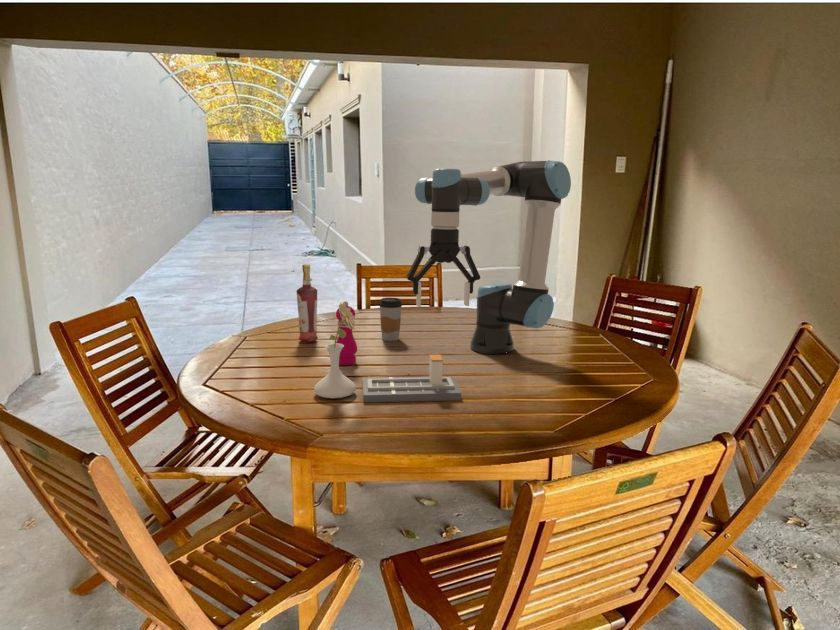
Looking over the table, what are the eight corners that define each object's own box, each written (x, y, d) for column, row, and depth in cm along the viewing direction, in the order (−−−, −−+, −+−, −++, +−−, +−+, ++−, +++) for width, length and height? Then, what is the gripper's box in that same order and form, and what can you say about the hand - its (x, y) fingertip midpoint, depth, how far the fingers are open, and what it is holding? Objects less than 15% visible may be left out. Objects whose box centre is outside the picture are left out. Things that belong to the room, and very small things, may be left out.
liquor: (321, 342, 208) (320, 265, 202) (302, 345, 204) (300, 266, 198) (313, 338, 214) (311, 263, 208) (294, 340, 210) (292, 264, 204)
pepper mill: (353, 366, 181) (352, 304, 177) (331, 364, 182) (330, 302, 178) (360, 359, 188) (359, 299, 183) (339, 358, 189) (338, 298, 185)
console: (452, 382, 167) (452, 373, 167) (461, 399, 154) (461, 390, 153) (362, 384, 164) (362, 375, 164) (363, 402, 151) (363, 392, 150)
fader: (439, 380, 162) (440, 354, 160) (442, 386, 157) (442, 359, 155) (428, 380, 161) (429, 354, 160) (431, 386, 157) (431, 359, 155)
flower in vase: (337, 405, 148) (336, 310, 143) (305, 396, 154) (302, 305, 149) (368, 391, 159) (368, 302, 154) (336, 383, 165) (335, 297, 160)
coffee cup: (405, 337, 216) (405, 298, 213) (395, 343, 209) (395, 302, 205) (385, 335, 219) (386, 296, 216) (375, 340, 212) (375, 300, 209)
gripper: (485, 227, 160) (482, 302, 165) (396, 226, 155) (395, 303, 160) (493, 229, 153) (490, 307, 157) (401, 228, 148) (400, 309, 153)
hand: (442, 305), depth 159 cm, fingers open, 13 cm apart
